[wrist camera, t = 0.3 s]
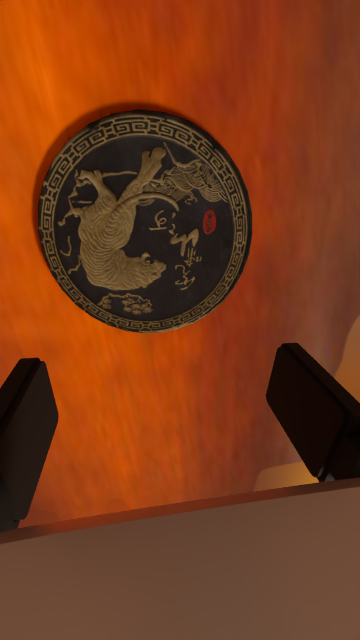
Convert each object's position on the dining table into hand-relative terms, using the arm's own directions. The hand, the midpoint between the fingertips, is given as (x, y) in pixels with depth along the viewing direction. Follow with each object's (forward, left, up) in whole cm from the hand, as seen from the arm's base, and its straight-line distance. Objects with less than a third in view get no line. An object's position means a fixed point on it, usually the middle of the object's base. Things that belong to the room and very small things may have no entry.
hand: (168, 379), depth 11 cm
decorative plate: (0, +1, -31) cm, 31 cm away
